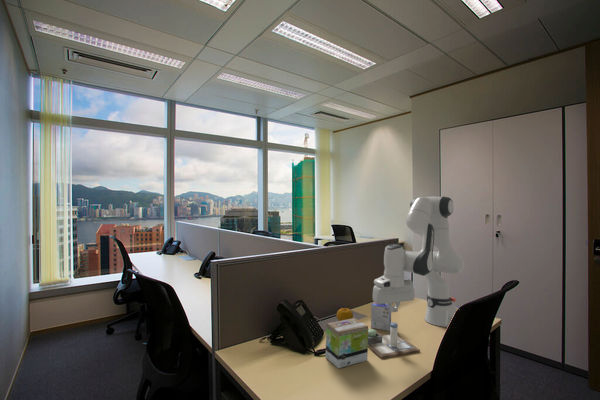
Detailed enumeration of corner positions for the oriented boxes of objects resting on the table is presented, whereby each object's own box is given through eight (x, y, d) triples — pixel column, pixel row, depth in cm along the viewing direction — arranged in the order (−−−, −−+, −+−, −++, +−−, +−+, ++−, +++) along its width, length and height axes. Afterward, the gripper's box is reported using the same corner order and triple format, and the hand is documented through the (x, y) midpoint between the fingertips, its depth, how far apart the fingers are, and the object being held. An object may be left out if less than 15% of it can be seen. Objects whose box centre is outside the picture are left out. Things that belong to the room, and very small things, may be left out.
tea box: (338, 370, 112) (339, 332, 113) (325, 357, 121) (325, 322, 122) (368, 360, 119) (368, 325, 120) (353, 350, 128) (353, 316, 129)
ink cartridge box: (391, 327, 153) (391, 300, 153) (390, 331, 147) (390, 303, 148) (372, 324, 156) (372, 297, 157) (370, 328, 151) (370, 300, 152)
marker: (394, 345, 131) (394, 322, 131) (398, 348, 128) (399, 324, 128) (388, 346, 130) (388, 322, 130) (393, 349, 127) (393, 325, 127)
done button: (372, 334, 138) (372, 328, 138) (377, 338, 134) (377, 332, 134) (364, 335, 137) (364, 329, 137) (369, 339, 133) (369, 333, 133)
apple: (341, 329, 149) (342, 312, 150) (333, 323, 158) (333, 306, 158) (356, 326, 153) (356, 309, 153) (346, 320, 161) (347, 304, 162)
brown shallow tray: (394, 334, 144) (394, 326, 144) (419, 352, 127) (419, 342, 127) (359, 339, 138) (359, 331, 138) (380, 358, 121) (380, 349, 121)
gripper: (408, 277, 135) (408, 306, 135) (370, 280, 129) (370, 311, 129) (417, 280, 129) (417, 311, 129) (378, 284, 123) (378, 316, 123)
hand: (393, 311), depth 129 cm, fingers closed
